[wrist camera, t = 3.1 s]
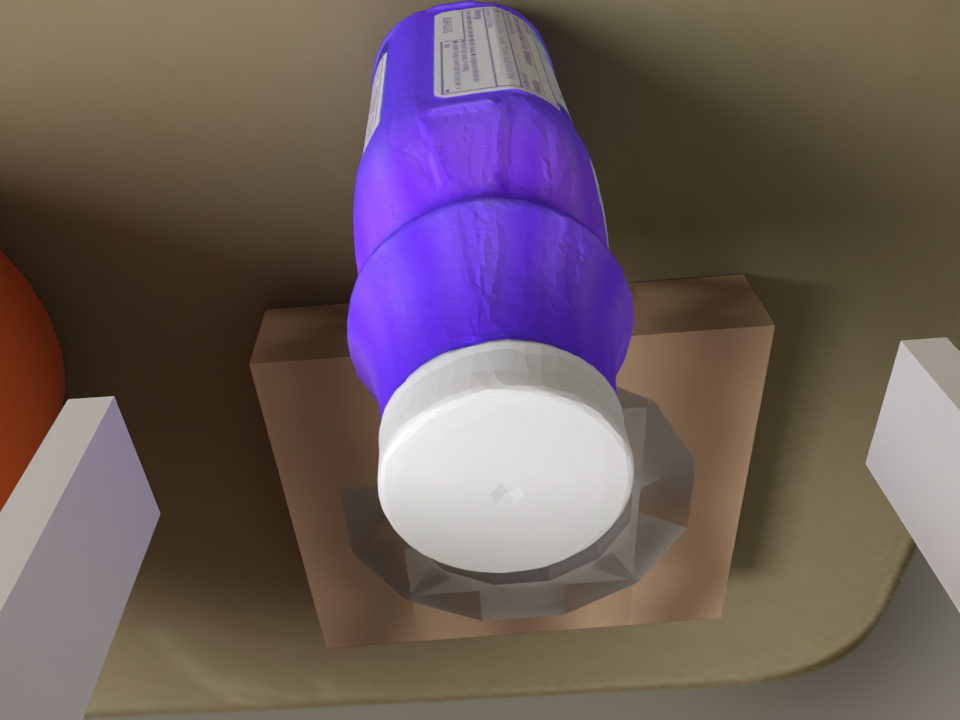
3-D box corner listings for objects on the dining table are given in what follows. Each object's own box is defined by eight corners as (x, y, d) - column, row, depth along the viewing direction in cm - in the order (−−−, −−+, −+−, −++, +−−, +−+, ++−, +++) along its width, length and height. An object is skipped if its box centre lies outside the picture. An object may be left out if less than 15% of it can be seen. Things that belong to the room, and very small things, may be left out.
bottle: (560, 200, 29) (686, 613, 15) (400, 221, 29) (372, 650, 15) (545, -23, 25) (703, 257, 10) (357, 3, 25) (262, 314, 11)
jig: (333, 586, 40) (326, 648, 37) (265, 309, 31) (249, 364, 28) (700, 558, 40) (720, 617, 37) (743, 274, 31) (775, 325, 28)
